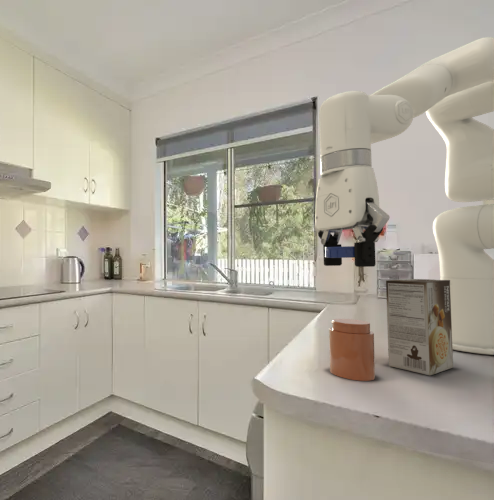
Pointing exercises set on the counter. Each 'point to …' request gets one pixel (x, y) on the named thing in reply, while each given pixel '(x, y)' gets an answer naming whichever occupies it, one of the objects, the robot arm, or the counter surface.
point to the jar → (352, 349)
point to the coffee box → (419, 325)
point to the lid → (339, 252)
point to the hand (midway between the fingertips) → (348, 265)
